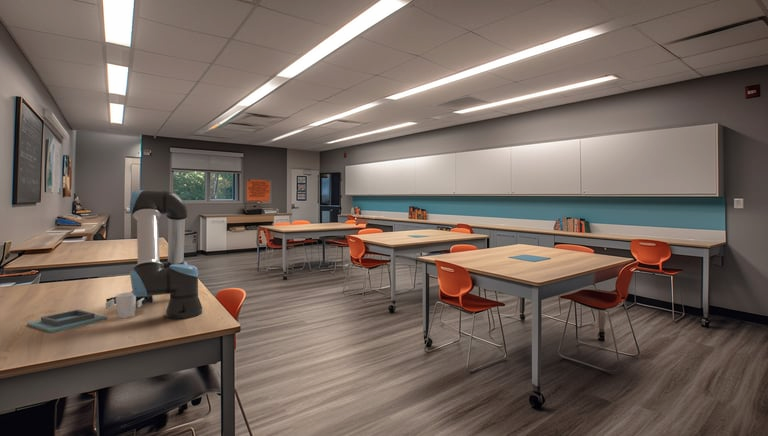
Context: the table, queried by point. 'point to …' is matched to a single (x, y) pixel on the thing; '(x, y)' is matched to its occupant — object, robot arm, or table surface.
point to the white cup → (125, 305)
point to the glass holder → (66, 320)
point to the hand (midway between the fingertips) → (122, 305)
